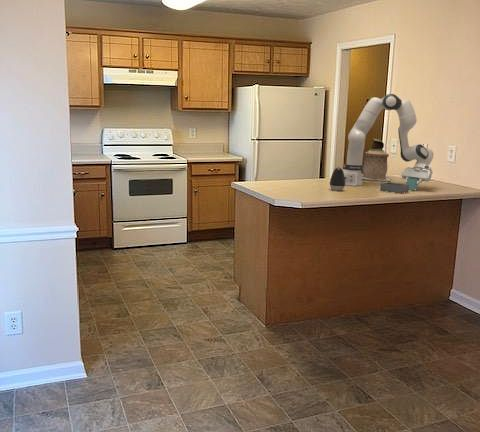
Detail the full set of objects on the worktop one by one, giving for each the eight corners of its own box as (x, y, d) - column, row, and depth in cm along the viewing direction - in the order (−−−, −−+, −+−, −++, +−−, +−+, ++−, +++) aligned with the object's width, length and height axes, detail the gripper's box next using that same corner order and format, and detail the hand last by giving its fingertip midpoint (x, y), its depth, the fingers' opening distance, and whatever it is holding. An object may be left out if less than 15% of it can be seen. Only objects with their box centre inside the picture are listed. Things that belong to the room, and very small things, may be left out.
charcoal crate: (399, 193, 341) (400, 186, 340) (380, 190, 351) (380, 183, 350) (408, 192, 349) (409, 185, 348) (388, 189, 359) (389, 182, 358)
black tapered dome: (332, 191, 339) (334, 168, 336) (326, 188, 349) (328, 166, 346) (347, 191, 341) (349, 168, 338) (341, 189, 351) (343, 166, 348)
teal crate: (413, 191, 355) (414, 179, 354) (406, 190, 359) (407, 178, 357) (416, 190, 359) (418, 178, 358) (410, 189, 363) (411, 178, 361)
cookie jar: (391, 182, 396) (395, 139, 390) (358, 180, 401) (362, 138, 394) (388, 178, 420) (392, 138, 414) (357, 176, 425) (361, 136, 418)
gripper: (404, 164, 367) (396, 178, 363) (432, 167, 354) (424, 182, 349) (407, 170, 372) (399, 184, 367) (434, 173, 358) (426, 188, 353)
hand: (411, 183), depth 358 cm, fingers open, 6 cm apart
